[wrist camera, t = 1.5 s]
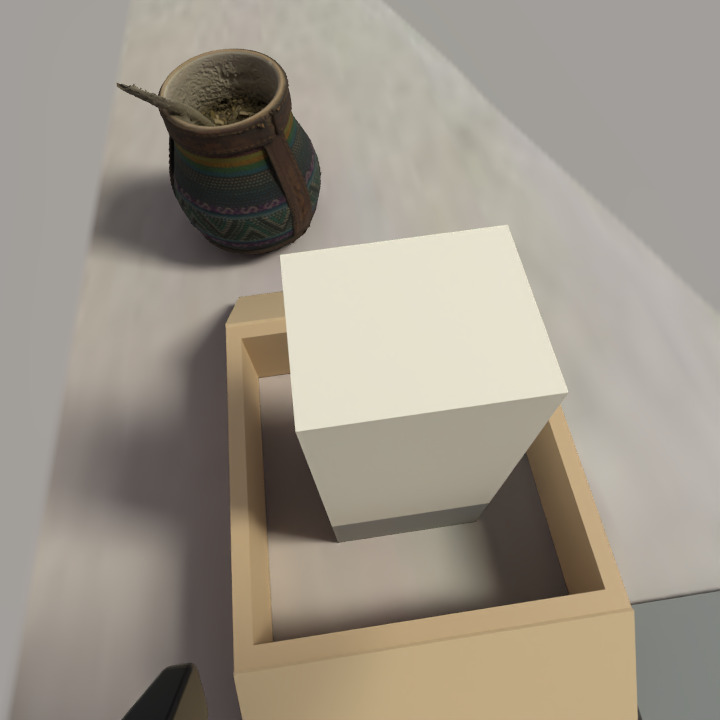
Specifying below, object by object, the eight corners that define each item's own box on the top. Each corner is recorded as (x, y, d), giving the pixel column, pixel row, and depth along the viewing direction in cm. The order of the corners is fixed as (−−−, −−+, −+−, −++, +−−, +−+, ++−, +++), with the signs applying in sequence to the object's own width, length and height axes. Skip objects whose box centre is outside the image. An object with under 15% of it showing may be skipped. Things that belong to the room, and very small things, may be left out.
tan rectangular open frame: (629, 731, 18) (682, 748, 15) (262, 793, 17) (236, 824, 14) (483, 273, 27) (497, 222, 24) (242, 305, 27) (223, 258, 23)
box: (475, 521, 21) (568, 392, 11) (338, 542, 21) (295, 432, 11) (450, 417, 23) (507, 224, 13) (325, 435, 23) (280, 254, 13)
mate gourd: (353, 207, 30) (341, 19, 21) (265, 301, 27) (208, 129, 18) (254, 157, 32) (206, -31, 23) (163, 239, 29) (68, 59, 20)
